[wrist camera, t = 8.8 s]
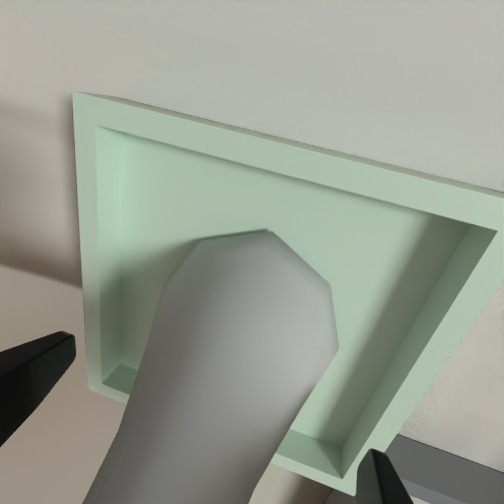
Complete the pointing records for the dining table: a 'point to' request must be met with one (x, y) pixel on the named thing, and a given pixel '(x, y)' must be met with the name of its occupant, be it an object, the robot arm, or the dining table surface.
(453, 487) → the socket
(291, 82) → the dining table surface
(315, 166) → the tray
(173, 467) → the flask
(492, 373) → the dining table surface
